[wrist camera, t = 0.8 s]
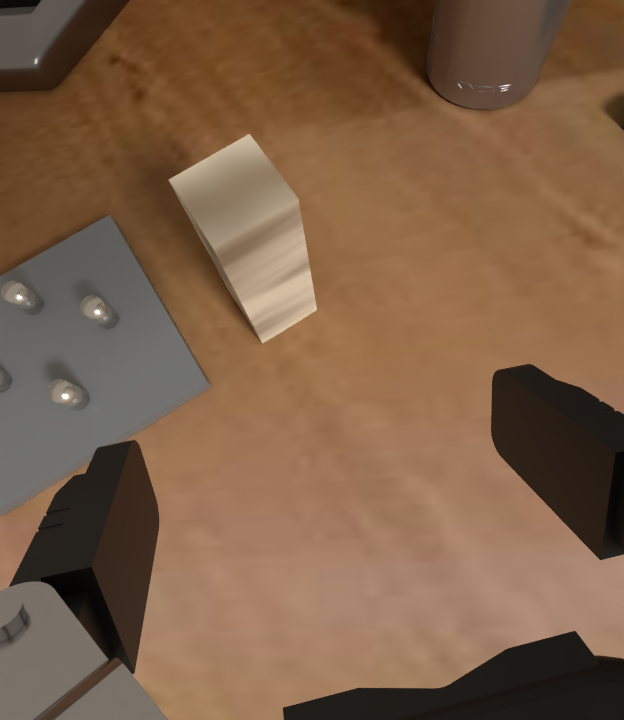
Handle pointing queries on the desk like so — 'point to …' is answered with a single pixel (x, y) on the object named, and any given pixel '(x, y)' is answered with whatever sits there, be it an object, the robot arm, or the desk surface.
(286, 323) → the birch post
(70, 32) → the emblem
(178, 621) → the desk surface
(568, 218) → the desk surface
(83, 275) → the slate base plate
